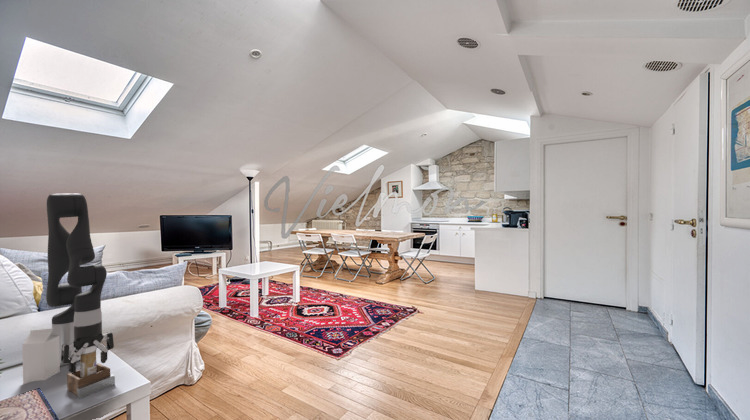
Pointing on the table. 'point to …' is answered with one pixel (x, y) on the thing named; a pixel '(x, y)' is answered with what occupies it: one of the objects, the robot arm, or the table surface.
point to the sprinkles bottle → (88, 361)
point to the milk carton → (40, 355)
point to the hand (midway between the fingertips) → (88, 367)
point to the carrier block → (85, 378)
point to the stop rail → (95, 386)
